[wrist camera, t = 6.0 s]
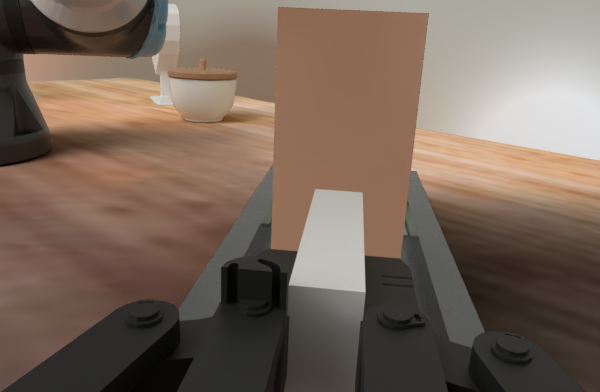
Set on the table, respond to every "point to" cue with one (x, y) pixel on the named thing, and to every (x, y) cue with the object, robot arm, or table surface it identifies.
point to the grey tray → (415, 253)
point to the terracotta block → (346, 117)
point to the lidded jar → (202, 92)
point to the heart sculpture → (167, 55)
